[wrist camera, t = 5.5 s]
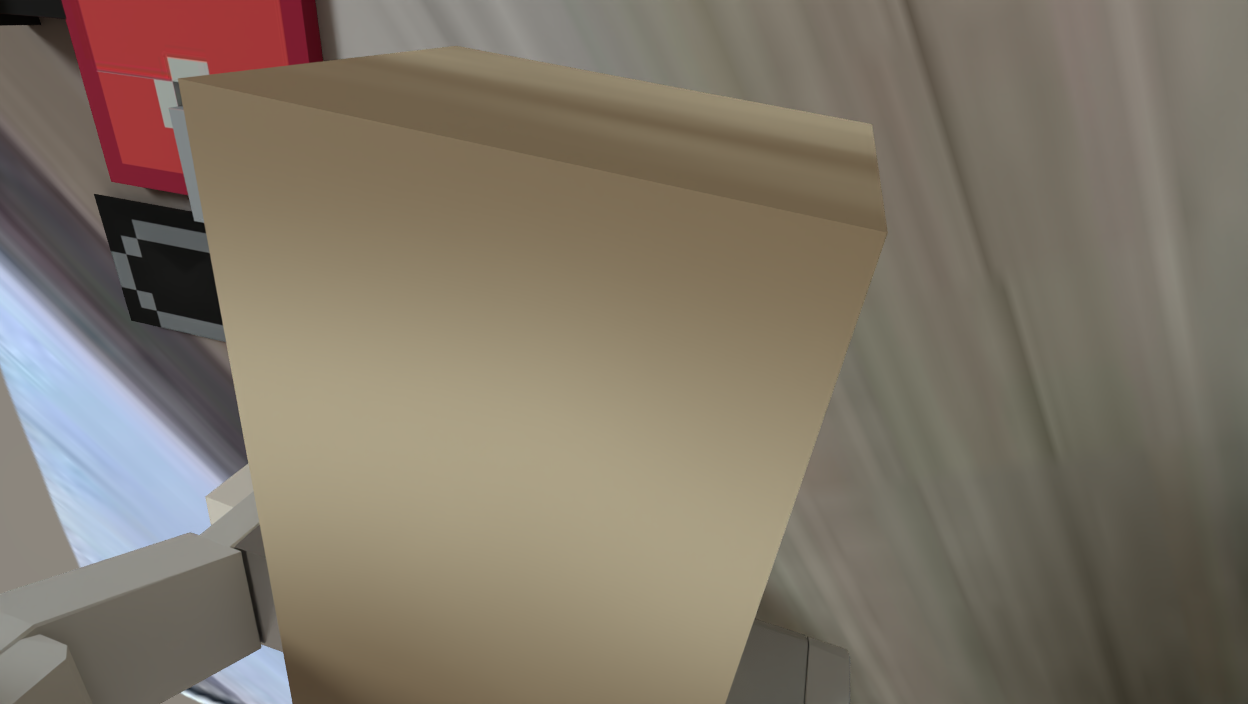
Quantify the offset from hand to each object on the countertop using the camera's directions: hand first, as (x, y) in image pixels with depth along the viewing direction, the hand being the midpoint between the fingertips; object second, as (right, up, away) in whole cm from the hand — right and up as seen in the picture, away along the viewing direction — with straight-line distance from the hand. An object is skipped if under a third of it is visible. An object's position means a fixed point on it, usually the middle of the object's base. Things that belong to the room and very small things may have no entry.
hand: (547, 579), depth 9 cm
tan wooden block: (+1, +1, +2) cm, 2 cm away
